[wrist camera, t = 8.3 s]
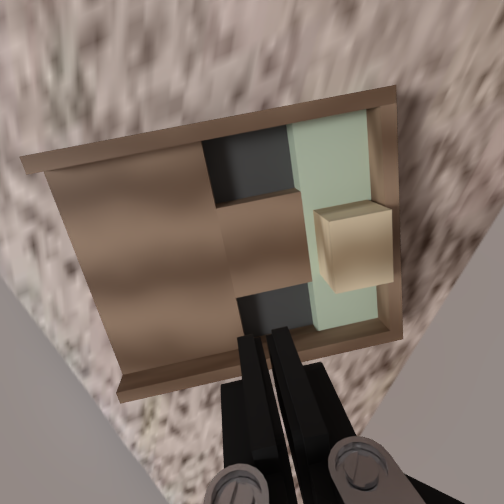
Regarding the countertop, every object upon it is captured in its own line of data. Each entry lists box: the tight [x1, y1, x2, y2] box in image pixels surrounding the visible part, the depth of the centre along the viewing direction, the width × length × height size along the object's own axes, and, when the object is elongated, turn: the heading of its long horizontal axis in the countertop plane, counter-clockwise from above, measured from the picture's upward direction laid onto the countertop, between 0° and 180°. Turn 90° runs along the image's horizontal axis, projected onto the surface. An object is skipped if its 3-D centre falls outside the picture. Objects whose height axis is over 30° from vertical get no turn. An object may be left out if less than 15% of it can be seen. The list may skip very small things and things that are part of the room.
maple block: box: [313, 200, 394, 294], centre depth 23 cm, size 5×4×4 cm
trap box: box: [20, 85, 403, 404], centre depth 24 cm, size 18×22×4 cm
